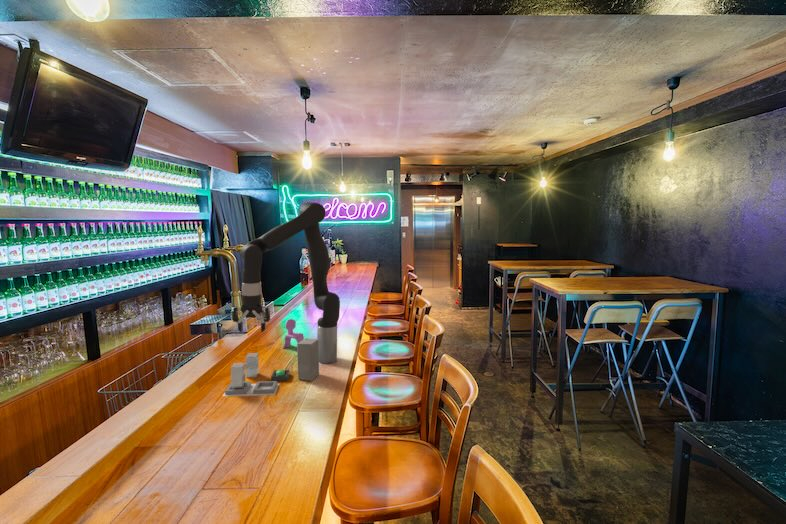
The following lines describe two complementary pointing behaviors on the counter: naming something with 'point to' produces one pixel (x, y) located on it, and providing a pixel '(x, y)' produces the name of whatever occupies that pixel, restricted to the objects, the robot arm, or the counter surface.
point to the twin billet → (238, 376)
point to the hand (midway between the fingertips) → (251, 331)
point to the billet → (252, 365)
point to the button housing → (280, 376)
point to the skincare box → (308, 359)
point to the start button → (280, 372)
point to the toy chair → (292, 333)
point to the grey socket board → (254, 389)
